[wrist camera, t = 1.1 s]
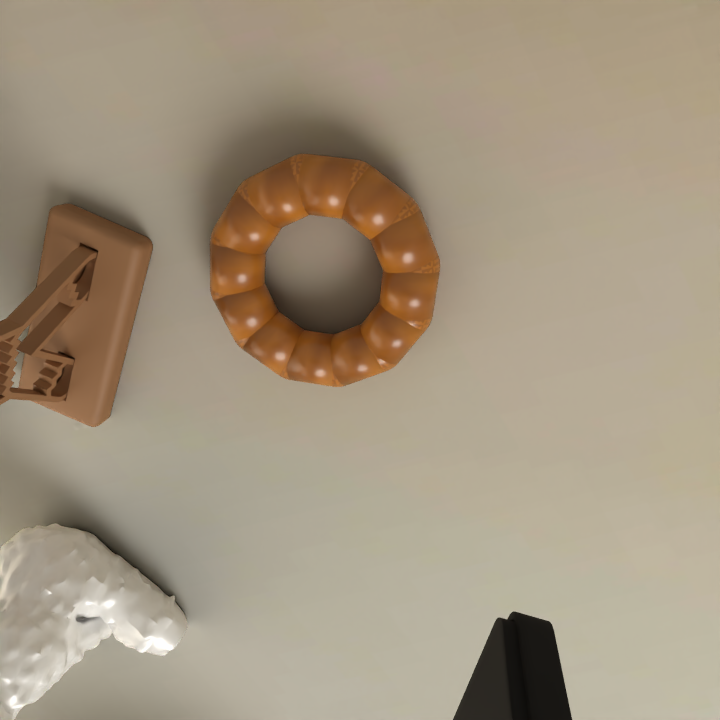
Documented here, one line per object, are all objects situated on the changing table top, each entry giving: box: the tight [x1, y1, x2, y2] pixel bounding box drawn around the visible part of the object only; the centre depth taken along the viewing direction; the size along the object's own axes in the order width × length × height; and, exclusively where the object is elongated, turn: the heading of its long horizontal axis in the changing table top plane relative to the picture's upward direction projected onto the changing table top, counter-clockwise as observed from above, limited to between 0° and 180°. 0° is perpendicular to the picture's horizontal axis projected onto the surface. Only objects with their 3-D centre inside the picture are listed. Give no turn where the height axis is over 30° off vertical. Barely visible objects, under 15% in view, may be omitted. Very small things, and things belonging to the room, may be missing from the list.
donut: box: [210, 154, 440, 387], centre depth 21 cm, size 8×8×2 cm
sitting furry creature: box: [0, 523, 188, 720], centre depth 24 cm, size 10×9×12 cm
